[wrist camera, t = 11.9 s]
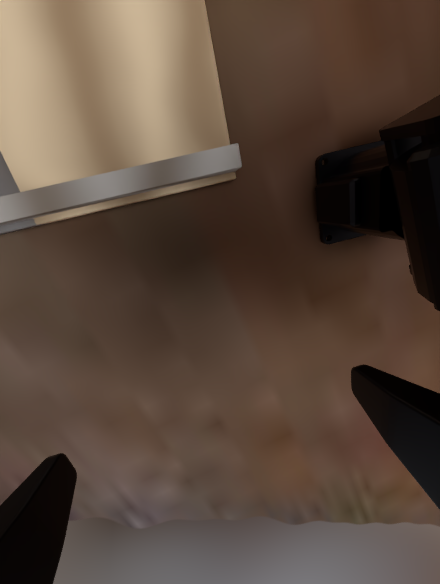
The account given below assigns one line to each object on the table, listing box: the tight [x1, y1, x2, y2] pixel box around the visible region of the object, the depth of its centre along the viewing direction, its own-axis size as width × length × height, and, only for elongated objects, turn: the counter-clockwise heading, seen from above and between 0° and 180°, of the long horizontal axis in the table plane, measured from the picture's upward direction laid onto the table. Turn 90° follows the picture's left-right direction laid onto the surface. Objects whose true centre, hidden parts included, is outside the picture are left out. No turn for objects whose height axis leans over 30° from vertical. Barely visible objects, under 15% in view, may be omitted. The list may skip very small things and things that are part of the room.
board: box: [0, 0, 242, 235], centre depth 12 cm, size 21×14×4 cm, turn 102°
